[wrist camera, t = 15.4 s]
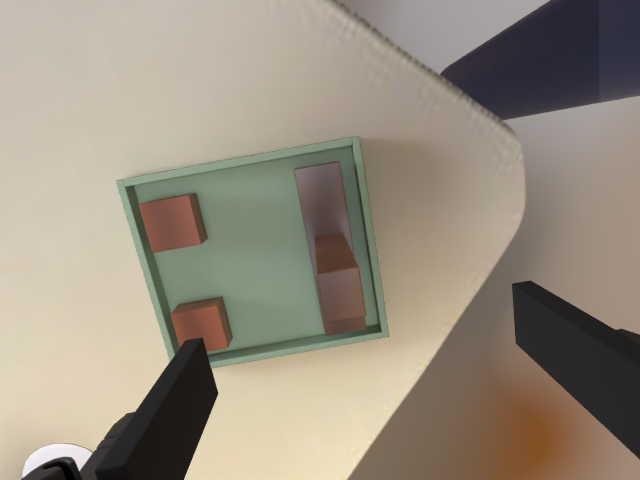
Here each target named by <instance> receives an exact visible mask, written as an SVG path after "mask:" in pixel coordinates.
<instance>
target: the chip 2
mask: <svg viewBox="0 0 640 480" xmlns="http://www.w3.org/2000/svg"><path fill="white" fill-rule="evenodd" d="M170 315H171V318H172V321H173V325H174V328H175V332H176V335H177V338H178V342H179V345H180V347H181V345H182V344H183V343H184V341H185V340H190V339H195V338H201V337H203V340H204V344H205V347H206V351H207V352H209V351H215V350H221V349H226V348H228V347H229V345H230V343H231V340H232V338H233V336H232V332H231V328H230V324H229V320H228V316H227V312H226V308H225V304H224V300H223V297H218V298H212V299H207V300H201V301H196V302H190V303H184V304H179V305H178V306H177V307H176V308H175V309H174V310H173V311H172V313H171V314H170Z"/></svg>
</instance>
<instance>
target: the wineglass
mask: <svg viewBox="0 0 640 480" xmlns="http://www.w3.org/2000/svg"><path fill="white" fill-rule="evenodd" d="M91 455H92V452H90V451H89V450H87V449H85V448H83V447H79V446H76V445H73V444H59V443H56V444H52V445H48V446H43V447H42V448H40V449H38V450H37V451H35V452H33V453H32V454H31V456H30V457H29V458H28V459H27V461H26V462H25V465H24V468H23V472H22V475H23V478H24V477H25V476H26V475H27V474H28V473H29V472H31V471H32V470H34V469H35V468H37V467H39V466H40V465H42V464H44V463H46V462H48V461H50V460H53V459H56V458H60V457H64V456H65V457H72V458H73V459H74V460H75V462H76V464H77V467H78V469H79V471H80V470H81V468H82V467H83V466H84V464H85V463H86V462H87V460H88V459H89V457H90V456H91Z"/></svg>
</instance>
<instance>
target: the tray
mask: <svg viewBox="0 0 640 480" xmlns="http://www.w3.org/2000/svg"><path fill="white" fill-rule="evenodd" d="M335 161H339V162H340V169H341V175H342V181H343V187H344V193H345V199H346V205H347V212H348V218H349V224H350V230H351V236H352V242H353V248H354V255H355V260H356V262H357V264H358V266H359V271H360V277H361V283H362V289H363V295H364V302H365V308H366V316H365V322H366V328H367V329H366V330H360V331H354V332H349V333H343V334H337V335H332V336H325V331H324V326H323V320H322V315H321V310H320V305H319V300H318V294H317V289H316V284H315V279H314V273H313V268H312V263H311V258H310V252H309V247H308V242H307V237H306V232H305V226H304V221H303V216H302V211H301V205H300V200H299V195H298V190H297V184H296V179H295V174H294V169H296V168H302V167H307V166H313V165H318V164H324V163H329V162H335ZM116 184H117V187H118V190H119V194H120V197H121V200H122V204H123V207H124V210H125V214H126V217H127V220H128V224H129V227H130V230H131V234H132V237H133V240H134V244H135V247H136V250H137V253H138V257H139V260H140V263H141V267H142V270H143V273H144V277H145V280H146V283H147V287H148V290H149V293H150V297H151V300H152V303H153V307H154V310H155V313H156V317H157V320H158V323H159V326H160V330H161V333H162V336H163V340H164V343H165V346H166V350H167V353H168V356H169V360H170V361H171V360H172V358H173V357H174V356H175V354H176V353H177V351H178V350H179V348H180V345H179V342H178V338H177V335H176V332H175V328H174V325H173V321H172V318H171V315H170V314H171V313H172V311H173V310H174V309H175V308H176V307H177V306H178V305H179V304H184V303H190V302H196V301H201V300H207V299H212V298H218V297H223V300H224V304H225V308H226V312H227V316H228V320H229V324H230V328H231V332H232V336H233V338H232V340H231V343H230V345H229V347H228V348H226V349H221V350H215V351H209V352H207V355H208V358H209V362H210V365H211V368H216V367H222V366H228V365H233V364H239V363H244V362H250V361H256V360H261V359H267V358H273V357H278V356H284V355H289V354H295V353H301V352H306V351H312V350H318V349H323V348H329V347H335V346H340V345H346V344H351V343H357V342H363V341H368V340H374V339H380V338H382V337H383V338H385V337H389V332H388V325H387V319H386V312H385V305H384V299H383V292H382V285H381V278H380V272H379V265H378V258H377V252H376V245H375V238H374V232H373V225H372V218H371V211H370V205H369V198H368V191H367V185H366V178H365V171H364V165H363V158H362V151H361V145H360V138H359V136H355V137H350V138H344V139H339V140H333V141H328V142H322V143H317V144H312V145H306V146H301V147H295V148H290V149H284V150H279V151H274V152H268V153H263V154H257V155H252V156H246V157H241V158H236V159H230V160H225V161H219V162H214V163H208V164H203V165H198V166H192V167H187V168H181V169H176V170H170V171H165V172H160V173H154V174H149V175H143V176H138V177H132V178H127V179H122V180H116ZM190 193H196V194H197V198H198V202H199V206H200V210H201V214H202V218H203V222H204V226H205V230H206V234H207V238H208V239H207V240H206V241H204V242H203V243H202V244H200V245H194V246H189V247H183V248H178V249H172V250H167V251H161V252H156V253H153V252H152V249H151V246H150V242H149V239H148V235H147V232H146V229H145V225H144V222H143V218H142V215H141V211H140V208H139V204H141V203H144V202H148V201H152V200H158V199H163V198H169V197H174V196H180V195H185V194H190Z"/></svg>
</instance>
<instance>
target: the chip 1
mask: <svg viewBox="0 0 640 480" xmlns="http://www.w3.org/2000/svg"><path fill="white" fill-rule="evenodd" d="M139 208H140V211H141V215H142V218H143V222H144V225H145V229H146V232H147V235H148V239H149V242H150V246H151V249H152V252H153V253H156V252H161V251H167V250H172V249H178V248H183V247H189V246H194V245H200V244H202V243H203V242H204V241H206V240H207V239H208V238H207V234H206V230H205V226H204V222H203V218H202V214H201V210H200V206H199V202H198V198H197V194H196V193H190V194H185V195H180V196H174V197H169V198H163V199H158V200H152V201H148V202H144V203H141V204H139Z"/></svg>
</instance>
